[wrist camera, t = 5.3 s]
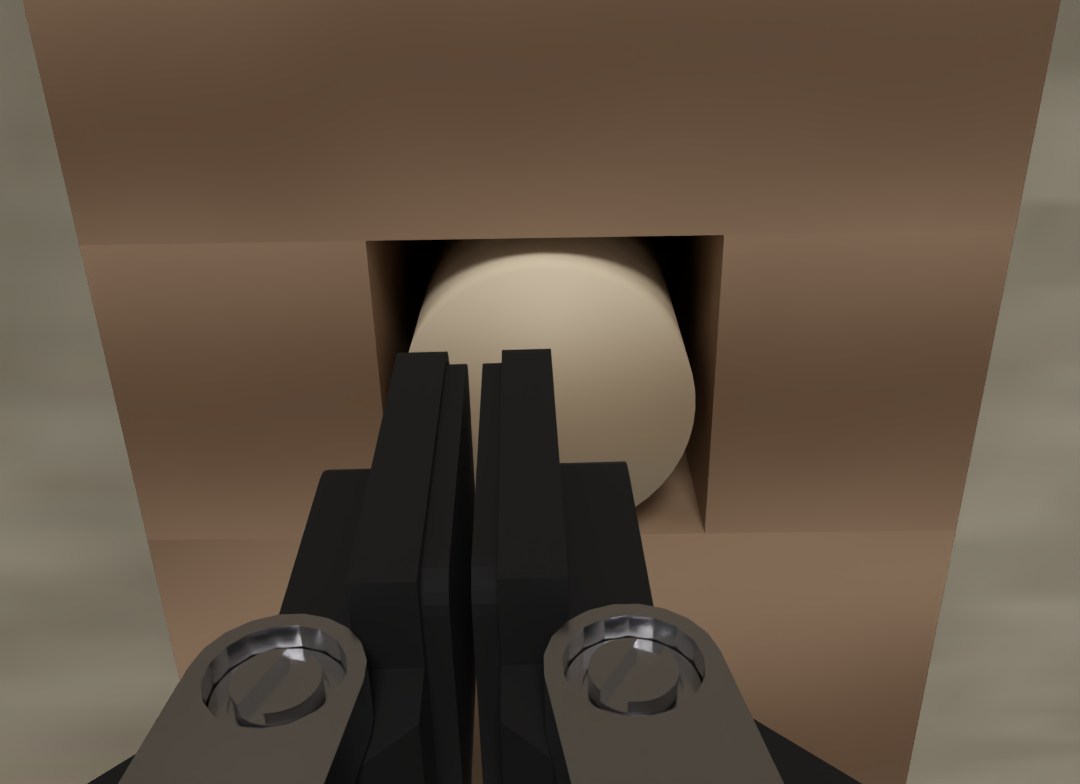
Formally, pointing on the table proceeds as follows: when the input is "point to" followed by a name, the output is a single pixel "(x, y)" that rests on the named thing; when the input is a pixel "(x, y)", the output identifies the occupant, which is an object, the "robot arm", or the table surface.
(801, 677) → the press block
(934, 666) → the table surface
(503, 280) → the peg
